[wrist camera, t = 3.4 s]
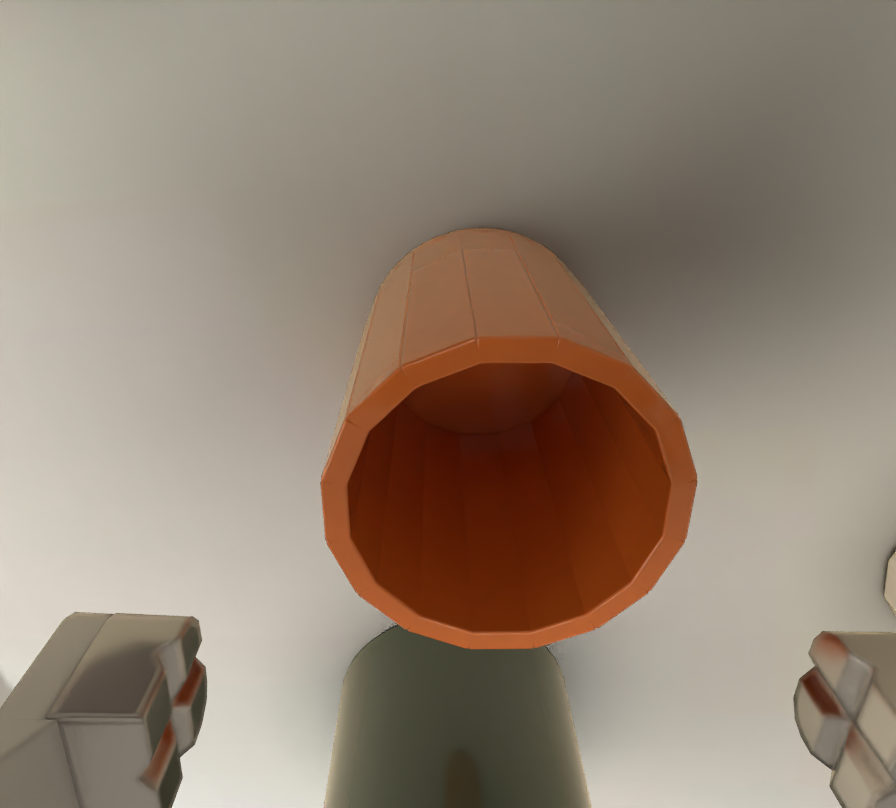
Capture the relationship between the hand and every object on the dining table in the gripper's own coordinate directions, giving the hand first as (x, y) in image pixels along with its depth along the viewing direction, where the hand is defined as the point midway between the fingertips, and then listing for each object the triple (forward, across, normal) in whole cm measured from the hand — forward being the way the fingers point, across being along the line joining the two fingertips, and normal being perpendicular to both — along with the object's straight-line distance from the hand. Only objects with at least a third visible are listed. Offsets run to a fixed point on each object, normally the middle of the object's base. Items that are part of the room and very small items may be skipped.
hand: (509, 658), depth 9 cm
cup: (+11, 0, -1) cm, 11 cm away
